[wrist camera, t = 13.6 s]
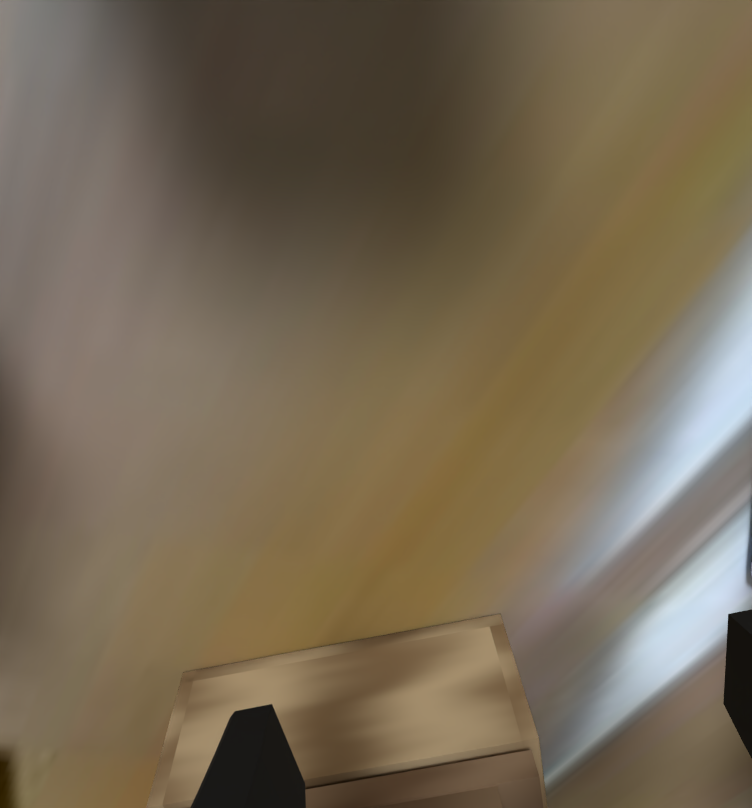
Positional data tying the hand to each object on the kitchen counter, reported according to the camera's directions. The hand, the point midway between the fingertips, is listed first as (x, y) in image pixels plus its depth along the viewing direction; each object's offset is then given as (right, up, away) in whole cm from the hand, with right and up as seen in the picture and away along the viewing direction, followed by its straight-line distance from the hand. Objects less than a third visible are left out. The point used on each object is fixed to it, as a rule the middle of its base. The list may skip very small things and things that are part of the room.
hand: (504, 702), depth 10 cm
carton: (-3, -8, +15) cm, 18 cm away
